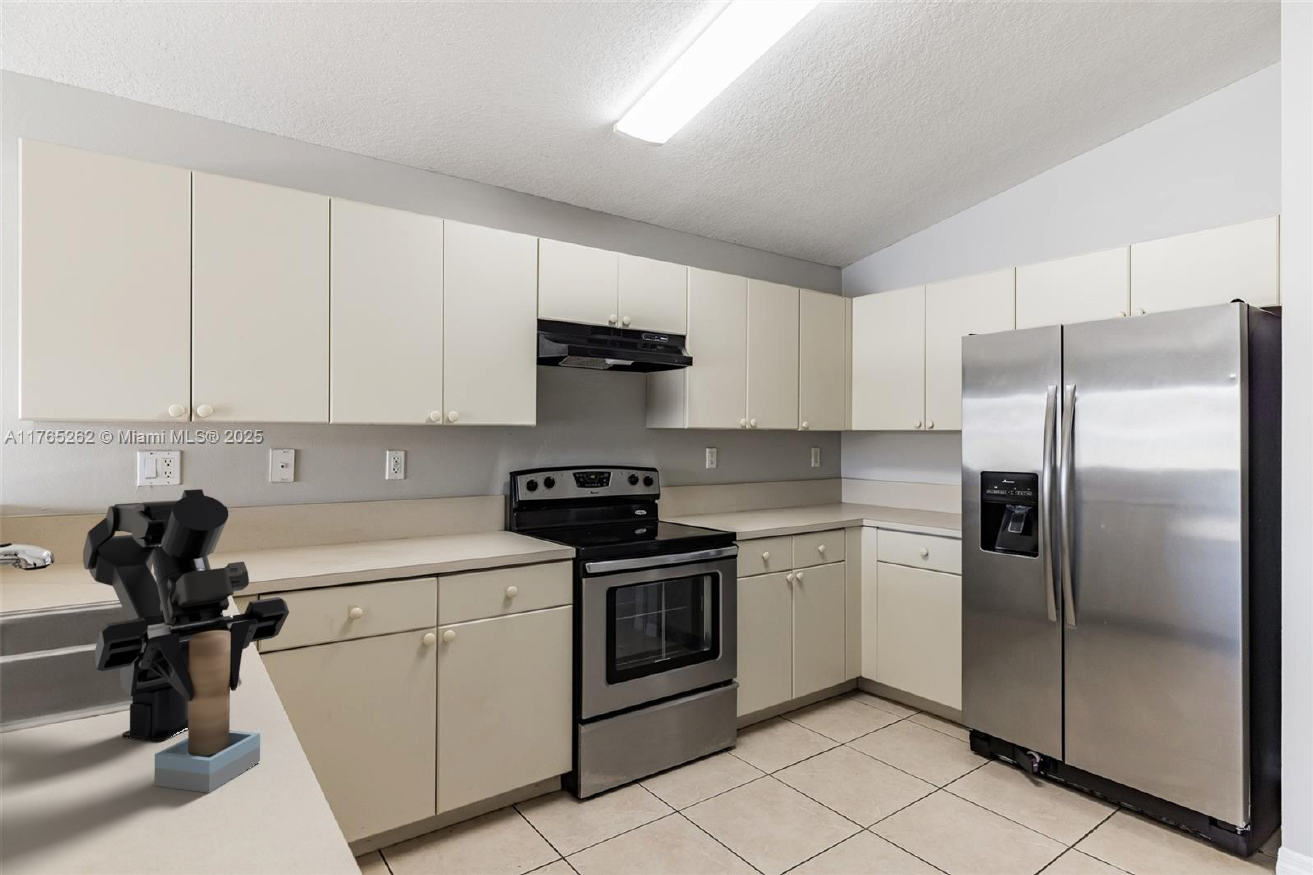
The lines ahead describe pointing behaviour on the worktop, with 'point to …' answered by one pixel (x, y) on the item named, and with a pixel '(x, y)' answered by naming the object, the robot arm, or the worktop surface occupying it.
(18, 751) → the worktop surface
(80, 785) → the worktop surface
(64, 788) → the worktop surface
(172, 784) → the light blue open box
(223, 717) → the pillar
